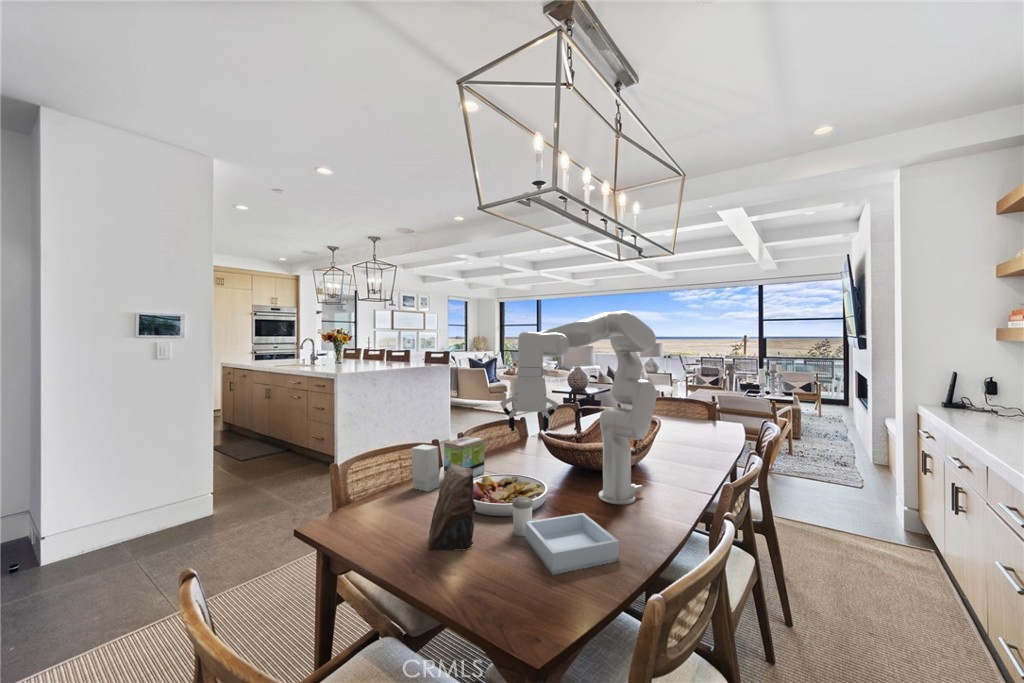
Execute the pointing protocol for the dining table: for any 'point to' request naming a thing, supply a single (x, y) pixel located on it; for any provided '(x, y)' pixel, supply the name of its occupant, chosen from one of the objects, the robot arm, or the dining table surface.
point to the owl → (453, 511)
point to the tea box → (465, 454)
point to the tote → (571, 543)
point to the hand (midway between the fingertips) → (528, 430)
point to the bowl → (506, 493)
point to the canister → (521, 514)
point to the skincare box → (425, 467)
